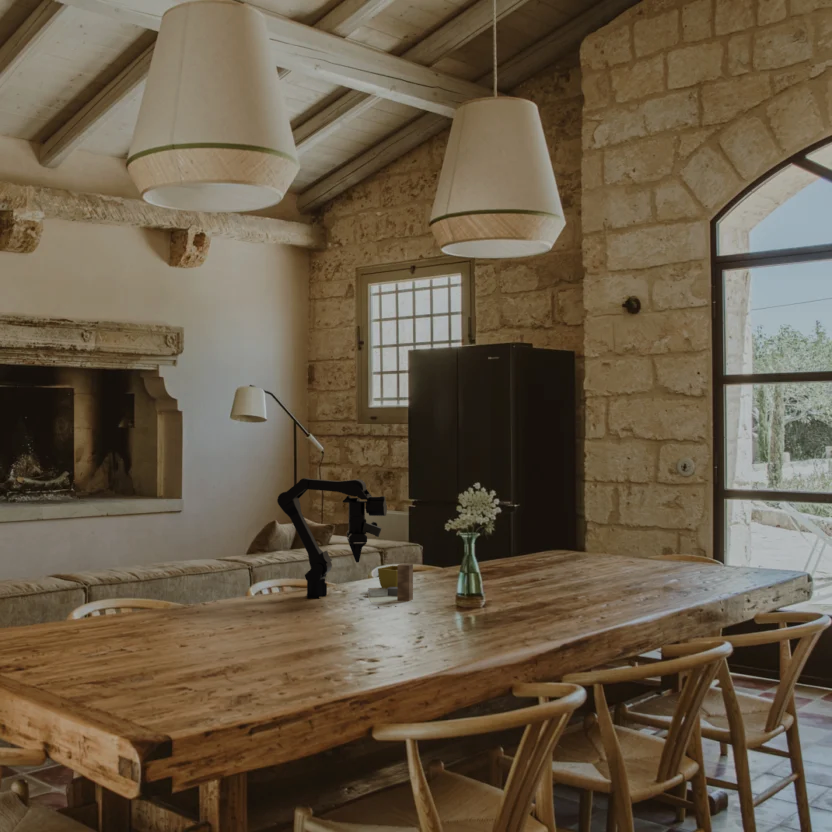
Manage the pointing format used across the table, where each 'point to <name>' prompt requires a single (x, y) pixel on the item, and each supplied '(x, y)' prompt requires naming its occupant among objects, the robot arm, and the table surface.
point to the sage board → (385, 599)
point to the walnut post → (404, 582)
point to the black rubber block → (392, 591)
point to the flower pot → (388, 576)
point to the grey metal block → (378, 592)
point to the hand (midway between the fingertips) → (356, 560)
